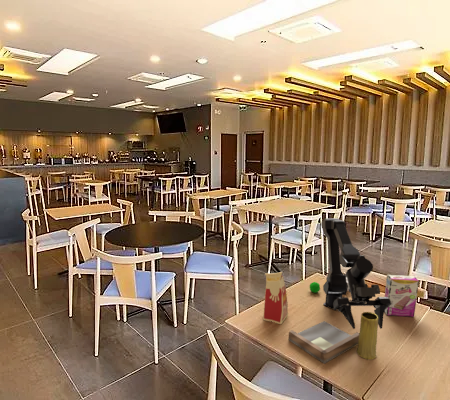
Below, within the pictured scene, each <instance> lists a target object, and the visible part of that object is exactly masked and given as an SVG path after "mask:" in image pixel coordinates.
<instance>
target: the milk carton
mask: <svg viewBox="0 0 450 400" xmlns="http://www.w3.org/2000/svg"><path fill="white" fill-rule="evenodd" d="M264 276H265V282H266V283H265V293H264V304H263V305H264V306H263V318H262V319H263V321H267V322H271V321H272V323H274V322H275V323H274V324H279V325H282V324H283V322H285V320H286V319H287V317H288V314H289V308H288V307H289V306H288V305H289V304H288V295H287V289H286V283H285V278H284V275H283V271H280V272H274V273H264Z"/></svg>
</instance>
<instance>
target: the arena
mask: <svg viewBox="0 0 450 400" xmlns="http://www.w3.org/2000/svg"><path fill="white" fill-rule="evenodd" d="M288 340H289V342H291V343H292V344H294V345H295V346H297V347H299V348H300V349H301V350H303V351H304V352H306V353H307V354H309V355H311V356H312V357H313V358H315V359H316V360H318V361H319V362H321V363H323V364H327V363H328V362H330V361H332V360H333V359H335V358H336V357H338V356H340V355H342V354H344V353H346V352H347V351H349V350H351V349H352V348H355V347H356V346H358V340H359V332H357V331H356V332H355V333H353V334H349V333H348V332H347V331H344V330H342V329H340V328H338V327H336V326H335V325H333V324H331V323H329V322H327V321H325V320H323V321H321V322H319V323H317V324H315V325H313V326H311V327H308V328H306V329H304V330H302V331H299V332H296V331H294V330H292V329H291V330H289V331H288Z"/></svg>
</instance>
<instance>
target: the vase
mask: <svg viewBox="0 0 450 400" xmlns="http://www.w3.org/2000/svg"><path fill="white" fill-rule="evenodd" d="M359 327H360V328H359V332H358V333H359V340H358V345H357V349H356V353H357V355H358V356H359V357H361V358H362V359H364V360H374V359H376V358H377V344H378V343H377V342H378V327H379V325H378V316H377V315H376V314H375V312H370V311H363V312H362V313H361V315H360V324H359Z"/></svg>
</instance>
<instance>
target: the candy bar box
mask: <svg viewBox="0 0 450 400" xmlns="http://www.w3.org/2000/svg"><path fill="white" fill-rule="evenodd" d="M419 283H420V281H419V279H418V278H416V277H415V275H401V274H400V275H398V274H386V281H385V290H384V297H388V298H389V299H390V300H391V303H392V305H390V306H389V307H388V308H387V309H385V311H384V314H385V315H386V316H393V317H394V316H395V317H409V318H411V317H412V318H414V317H415V314H416V313H415V312H416V305H417V297H418V289H419V285H420V284H419Z"/></svg>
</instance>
